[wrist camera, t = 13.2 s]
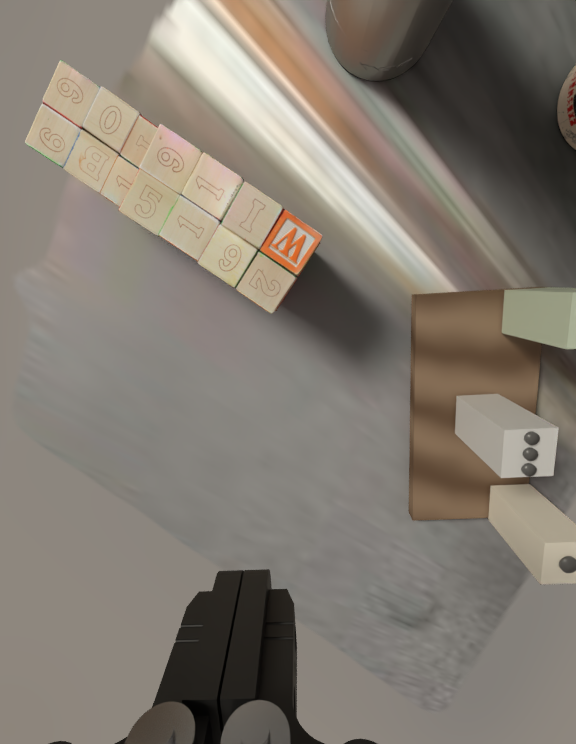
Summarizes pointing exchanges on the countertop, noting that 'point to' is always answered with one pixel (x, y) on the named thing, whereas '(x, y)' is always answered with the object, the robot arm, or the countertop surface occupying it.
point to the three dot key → (506, 436)
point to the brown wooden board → (456, 378)
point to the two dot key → (541, 315)
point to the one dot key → (535, 532)
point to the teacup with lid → (568, 108)
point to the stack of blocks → (172, 188)
